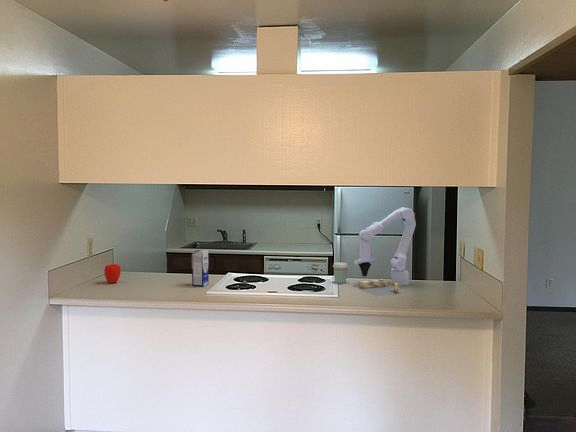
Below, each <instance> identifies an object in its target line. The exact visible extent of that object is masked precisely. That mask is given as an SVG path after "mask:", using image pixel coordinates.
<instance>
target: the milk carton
mask: <svg viewBox="0 0 576 432" xmlns="http://www.w3.org/2000/svg"><path fill="white" fill-rule="evenodd" d="M191 278H192V279H191V287H200V288H204V287H207V286H208V285H209V282H210V280H209V249H204V250H201V251H200V249H197V250H194V253H192V254H191Z"/></svg>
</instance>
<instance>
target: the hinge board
mask: <svg viewBox="0 0 576 432" xmlns="http://www.w3.org/2000/svg"><path fill="white" fill-rule="evenodd" d="M353 288H357V289H359V290H361V291H362V292H363V291H364V292H366V293H367V294H370V295H372V296H375V297H385V296H386V297H387V296H393V295H394V296H396V295H405V294H407V293H406V292H404V291H401V290H398V293H397V294H396V293H394V287H390V286H387V285H386V286H384V287H369V288H359V287H358V285H353Z"/></svg>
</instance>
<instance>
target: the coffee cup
mask: <svg viewBox="0 0 576 432" xmlns="http://www.w3.org/2000/svg"><path fill="white" fill-rule="evenodd" d="M332 267H333V277H334V283H335V284H338V285H344V284H346V282H347V275H348V274H347V273H348V267H349V266H348V263H347V262H341V261H340V262H337V261H335V262H334V263H333V264H332Z"/></svg>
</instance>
